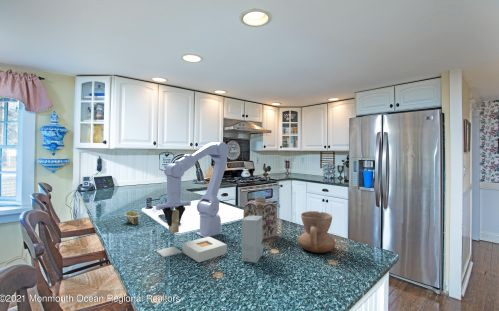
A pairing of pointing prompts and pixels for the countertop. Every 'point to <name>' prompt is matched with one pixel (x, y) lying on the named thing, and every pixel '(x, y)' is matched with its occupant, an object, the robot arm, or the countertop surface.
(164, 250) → the mat
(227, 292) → the countertop surface
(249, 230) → the skincare box
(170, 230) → the wooden square post
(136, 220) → the gold pronged connector
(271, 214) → the decorative jar
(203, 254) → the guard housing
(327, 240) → the ceramic jug
